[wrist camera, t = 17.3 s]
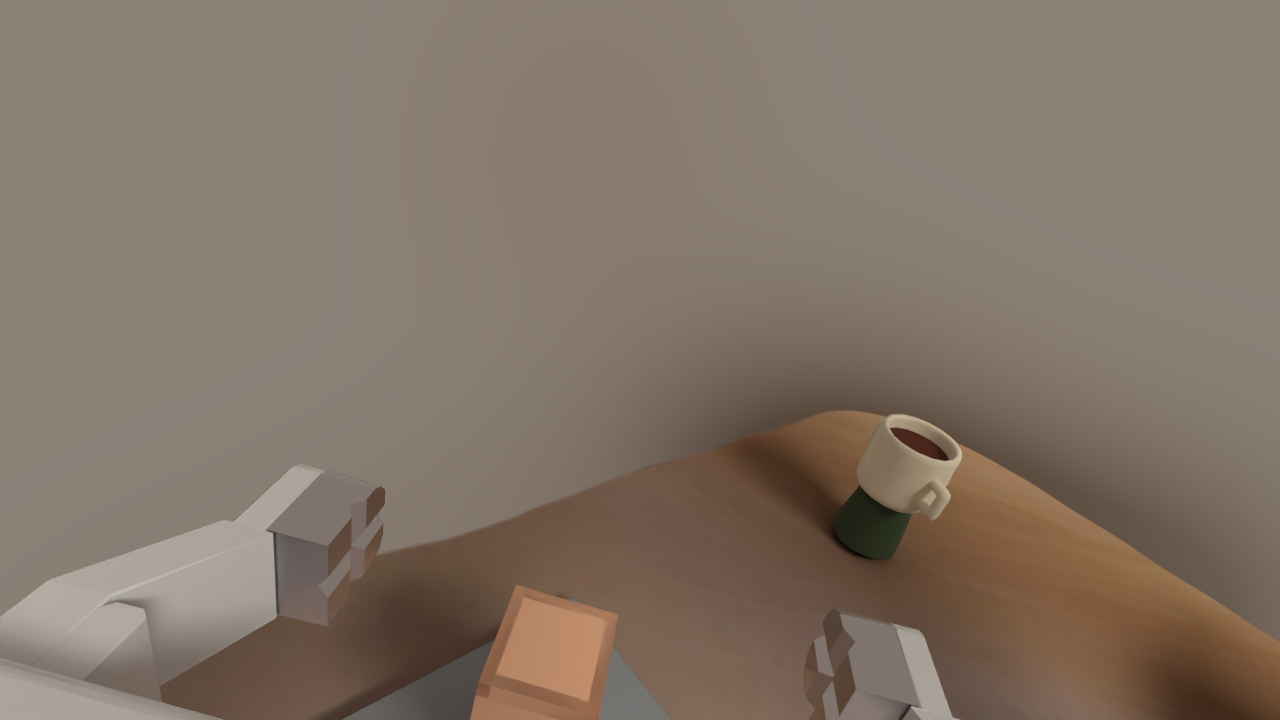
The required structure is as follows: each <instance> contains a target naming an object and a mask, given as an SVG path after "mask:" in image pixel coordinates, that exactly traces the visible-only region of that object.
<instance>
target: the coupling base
mask: <svg viewBox="0 0 1280 720" xmlns="http://www.w3.org/2000/svg"><path fill="white" fill-rule="evenodd" d="M570 601H574V602H577V601H576V599H575V598H572V599H571V600H570ZM577 603H578V602H577ZM494 641H495V639H494V640H492V641H491V642H489V643H487V644H485V645H483V646H481V647H479V648H477V649H475V650H473V651H472V652H470V653H468V654H466V655H464V656H462V657H460V658H458V659H456V660H454V661H452V662H451V663H449V664H447V665H445V666H443V667H441V668H439V669H437V670H435V671H433V672H432V673H430V674H428V675H426V676H424V677H422V678H420V679H418V680H416V681H414V682H412V683H411V684H409V685H407V686H405V687H403V688H401V689H399V690H397V691H395V692H393V693H392V694H390V695H388V696H386V697H384V698H382V699H380V700H378V701H376V702H374V703H372V704H371V705H369V706H367V707H365V708H363V709H361V710H359V711H357V712H355V713H353V714H352V715H350V716H348V717H346V718H344V719H342V720H470V718H471V713H472V709H473V704H474V700H475V695H476V691H477V686H478V682H479V679H480V677H481V674H482V672H483V669H484V667H485V664H486V661H487V659H488V656H489V654H490V651H491V649H492V646H493V643H494ZM598 720H670V718H669V717H668V716H667V714H666V713H665V712H664V711H663V709H662V708H661V707H660V706H659V704H658V703H657V702H656V701H655V699H654V698H653V697H652V696H651V694H650V693H649V692H648V690H647V689H646V688H645V687H644V685H643V684H642V683H641V682H640V680H639V679H638V678H637V677H636V675H635V674H634V673H633V671H632V670H631V669H630V668H629V666H628V665H627V664H626V663H625V661H624V660H623V659H622V658H621V656H620V655H619V654H618V652H617V651H616V650H615V649H614V647H613V646H612V651H611V657H610V662H609V667H608V672H607V677H606V682H605V687H604V692H603V698H602V703H601V708H600V713H599V718H598Z"/></svg>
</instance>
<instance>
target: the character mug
mask: <svg viewBox="0 0 1280 720" xmlns="http://www.w3.org/2000/svg"><path fill="white" fill-rule="evenodd" d="M867 443H868V445H869V446H868V448H867V450H866V452H865V454H864V455H863V457H862V459H861V461H860V463H859V465H858V469H857V475H856V477H857V480H858V482H859V484H860V486H859V487H858V488H857V489H856V490H855V492H854V493H853V494H852V495H851V497H850V498H849V499H848V500H847V501H846V503H845V504H844V505H843V506H842V508H841V509H840V510H839V512H838V513H837V515H836V516H835V517H834V519H833V530H834V531H835V533H836V535H837V536H838V538H839V539H840V541H841V542H843V543H844V544H845V545H847V546H848V547H849V548H850V549H852V550H853V551H856V552H858V553H860V554H862V555H865V556H867V557H871V558H876V559H881V560H882V559H891V557H892V556H893V554H894V552H895V550H896V548H897V546H898V545H899V543H900V541H901V539H902V536H903V534H904V532H905V529H906V527H907V524H908V522H909V520H910V517H911V514H915V513H922V514H923V515H924V517H926V518H927V519H929V520H930V521H933V520H935V519H936V518H938V517H939V515H940V514H941V512H942V511H943V509H944V508H945V506H946V505H947V503H948V502H949V500H950V497H951V495H950V493H949V491H948V490H947V489H946V488H945V487H946V486H947V484H948V483H949V481H950V479H951V476H952V474H953V472H954V471H955V469H956V468H957V466H958V465H959V463H960V461H961V459H962V451H961V449H960V447H959V446H958V444H957V443H956V442H955V441H954V440H953V439H952V438H951V437H950V436H949V435H947V434H946V433H945V432H943V431H942V430H940V429H939V428H937V427H935V426H934V425H932V424H930V423H928V422H926V421H923V420H921V419H918V418H916V417H913V416H908V415H904V414H890V415H889V416H887V417H886V418H885V419H884V418H881V419H879V420H878V421H877V422H876V424H875V426H874V427H873V429H872V431H871V433H870V435H869V437H868V439H867Z"/></svg>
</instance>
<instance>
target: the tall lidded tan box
mask: <svg viewBox="0 0 1280 720" xmlns="http://www.w3.org/2000/svg"><path fill="white" fill-rule="evenodd" d="M618 616H619V615H618V614H614V613H611V612H608V611H604V610H601V609H597V608H594V607H591V606H587V605H584V604H580V603H577V602H574V601H570V600H567V599H563V598H560V597H557V596H553V595H550V594H546V593H543V592H540V591H536V590H533V589H530V588H526V587H523V586H519V585H516V587H515V590H514V592H513V595H512V597H511V600H510V602H509V605H508V608H507V610H506V613H505V615H504V618H503V620H502V623H501V626H500V628H499V631H498V633H497V636H496V638H495V641H494V643H493V646H492V649H491V651H490V654H489V656H488V659H487V661H486V664H485V667H484V669H483V672H482V674H481V677H480V679H479V682H478V686H477V691H476V695H475V700H474V704H473V709H472V713H471V718H470V720H598V718H599V713H600V708H601V703H602V698H603V692H604V687H605V682H606V677H607V672H608V667H609V662H610V657H611V651H612V646H613V641H614V636H615V631H616V626H617V621H618Z"/></svg>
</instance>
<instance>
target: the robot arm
mask: <svg viewBox="0 0 1280 720" xmlns="http://www.w3.org/2000/svg"><path fill="white" fill-rule="evenodd" d="M384 502H385V490H384V489H383V488H382V487H381V486H378V485H375V484H372V483H368V482H364V481H361V480H358V479H354V478H351V477H348V476H345V475H341V474H338V473H334V472H331V471H325V470H322V469H319V468H315V467H312V466H308V465H306V464H302V463H301V464H298V465H295V466H293V467H291V468H290V469H289V470H288V471H287V472H286V473H285V474H284V475H283V476H281V477H280V478H279V479H278V480H277V481H276V482H275V483H274V484H273V485H272V486H271V487H270V488H269V489H267V490H266V491H265V492H264V493H263V494H262V495H261V496H260V497H259V498H258V499H257V500H256V501H254V503H252V504H251V505H250V506H249V507H248V508H247V509H246V510H245V511H244V512H243V513H242V514H240V515H239V516H238V517H237V518H236V519H235V520H234V521H233V522H231V521H227V520H222V521H219V522H216V523H213V524H210V525H207V526H204V527H201V528H199V529H196V530H192V531H190V532H187V533H184V534H181V535H178V536H175V537H172V538H170V539H166V540H163V541H160V542H158V543H155V544H152V545H149V546H146V547H143V548H140V549H137V550H134V551H132V552H129V553H125V554H123V555H120V556H117V557H114V558H111V559H108V560H105V561H103V562H99V563H96V564H93V565H90V566H88V567H85V568H82V569H79V570H76V571H73V572H70V573H67V574H64V575H61V576H58V577H56V578H53V579H50V580H48V581H46V582H45V583H44V584H42V585H41V586H40V587H39V588H37V589H36V590H35V591H33V592H32V593H31V594H29V595H28V596H27V597H25V598H24V599H23V600H21V601H20V602H19V603H18V604H16V605H15V606H14V607H12V608H11V609H10V610H8V611H7V612H6V613H4V614H3V615H2V616H0V720H224V719H221V718H217V717H213V716H210V715H206V714H203V713H199V712H195V711H192V710H188V709H184V708H181V707H177V706H173V705H170V704H166V703H162V698H161V693H160V688H159V686H161V685H163V684H164V683H166V682H168V681H169V680H171V679H173V678H175V677H176V676H178V675H180V674H181V673H183V672H185V671H187V670H188V669H190V668H192V667H193V666H195V665H197V664H198V663H200V662H202V661H204V660H205V659H207V658H209V657H210V656H212V655H214V654H216V653H217V652H219V651H221V650H222V649H224V648H226V647H227V646H229V645H231V644H233V643H234V642H236V641H238V640H239V639H241V638H243V637H245V636H246V635H248V634H250V633H251V632H253V631H255V630H257V629H258V628H260V627H262V626H263V625H265V624H267V623H268V622H270V621H272V620H274V619H275V618H277V615H281V616H285V617H290V618H294V619H298V620H302V621H306V622H310V623H314V624H319V625H323V626H327V627H328V625H329V624H330V622H331V621H332V620H333V618H334V617H335V615H336V614H337V613H338V611H339V610H340V608H341V607H342V606H343V604H344V603H345V601H346V600H347V599H348V597H349V596H350V582H352V581H354V580H356V579H358V578H360V577H362V576H364V574H365V573H366V572H367V570H368V569H369V567H370V566H371V564H372V563H373V560H374V558H375V556H376V554H377V551H378V549H379V546H380V543H381V539H382V535H383V522H382V521H381V519H380V518H379V516H378V512H379V511H380V510H381V508H382V507H383V506H384V504H385V503H384ZM823 625H824V632H825V635H823V636H821V637H819V638H817V639H815V640H814V641H813V643H812V645H811V647H810V650H809V652H808V654H807V659H806V664H805V669H804V686H805V695H806V697H807V698H808V700H809V701H810V703H811V704H812V706H813V707H814V708H815V710H814V712H813V714H812V716H811V717H810V719H809V720H960V719H957V718H954V717H952V714H951V711H950V709H949V706H948V703H947V700H946V697H945V694H944V692H943V689H942V686H941V683H940V680H939V677H938V675H937V672H936V669H935V666H934V663H933V661H932V658H931V655H930V652H929V649H928V646H927V644H926V641H925V638H924V636H923V634H922V633H921V632H920V631H919V630H916V629H913V628H909V627H905V626H901V625H897V624H893V623H887V622H884V621H880V620H877V619H873V618H869V617H865V616H861V615H857V614H854V613H850V612H846V611H842V610H838V609H833V610H832V611H830V612H829V613H828V615H827V617H826V618H825V620H824V622H823Z"/></svg>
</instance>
